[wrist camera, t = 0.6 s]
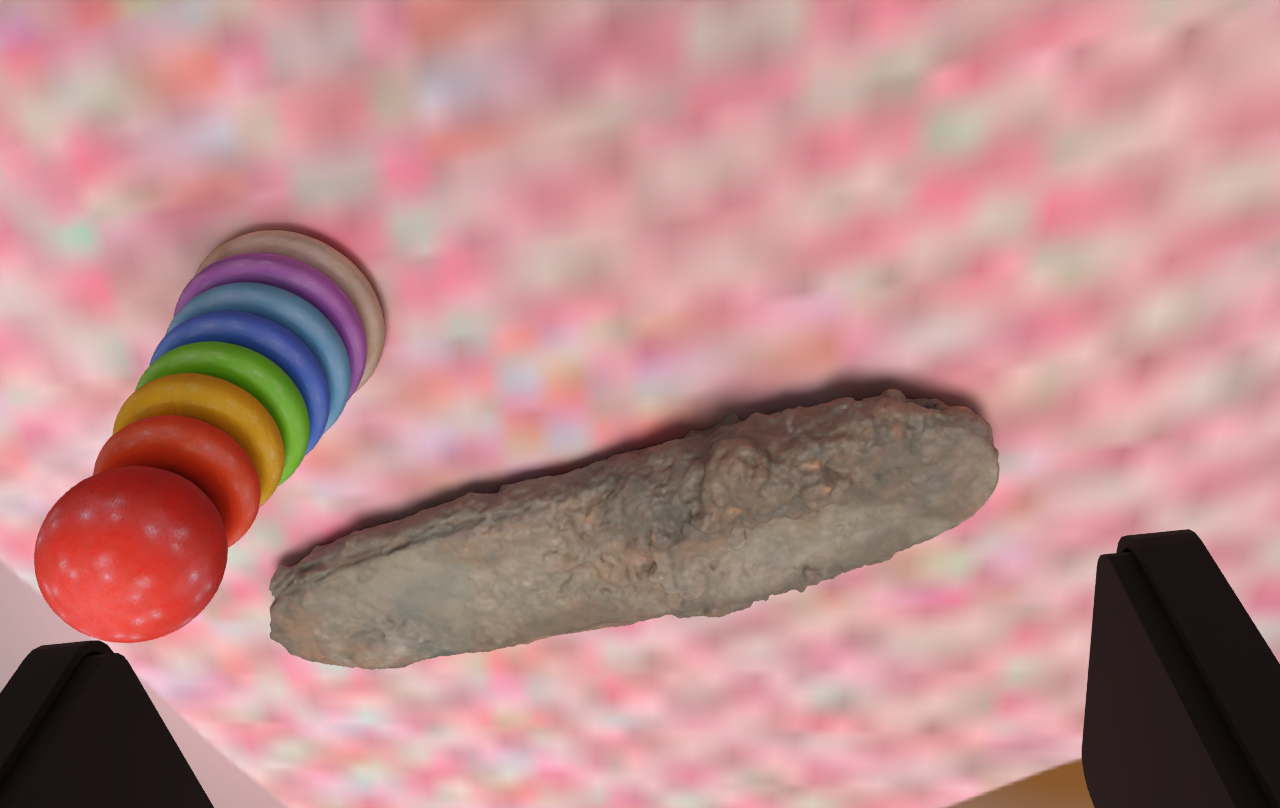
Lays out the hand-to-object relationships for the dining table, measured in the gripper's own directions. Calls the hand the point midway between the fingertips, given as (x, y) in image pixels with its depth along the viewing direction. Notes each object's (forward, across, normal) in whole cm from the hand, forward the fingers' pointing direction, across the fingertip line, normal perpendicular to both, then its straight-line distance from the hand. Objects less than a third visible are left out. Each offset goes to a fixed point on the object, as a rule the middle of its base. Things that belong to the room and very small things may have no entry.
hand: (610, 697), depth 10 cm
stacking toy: (+32, +17, +10) cm, 38 cm away
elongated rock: (+32, +6, +23) cm, 40 cm away
